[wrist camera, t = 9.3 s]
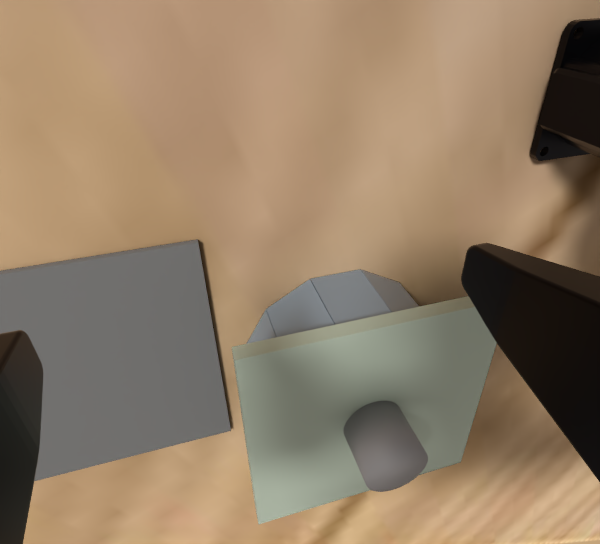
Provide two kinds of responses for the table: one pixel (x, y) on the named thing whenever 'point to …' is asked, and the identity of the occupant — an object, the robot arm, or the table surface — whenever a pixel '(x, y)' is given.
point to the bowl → (332, 303)
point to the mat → (118, 353)
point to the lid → (360, 403)
